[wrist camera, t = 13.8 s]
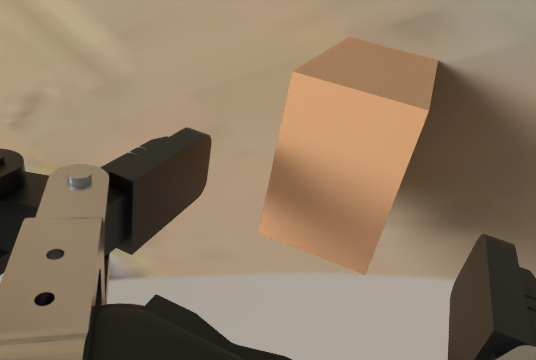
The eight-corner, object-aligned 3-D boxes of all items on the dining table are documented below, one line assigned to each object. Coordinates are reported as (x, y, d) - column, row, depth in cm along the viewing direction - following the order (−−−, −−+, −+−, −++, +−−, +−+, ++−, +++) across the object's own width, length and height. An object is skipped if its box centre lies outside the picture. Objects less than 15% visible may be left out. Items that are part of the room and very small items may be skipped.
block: (438, 60, 18) (429, 110, 11) (393, 179, 21) (365, 274, 14) (348, 37, 19) (292, 71, 12) (317, 154, 22) (258, 232, 15)
